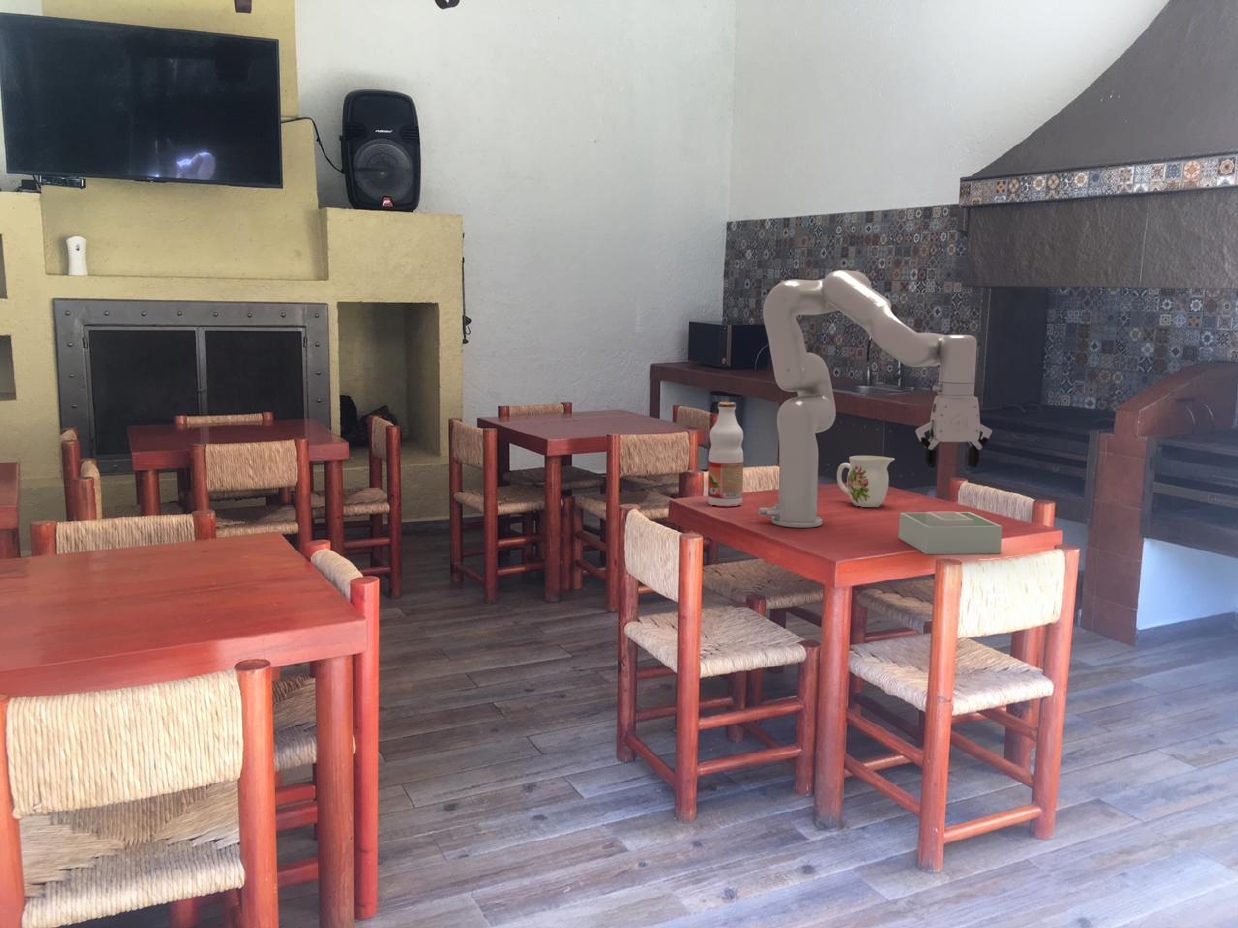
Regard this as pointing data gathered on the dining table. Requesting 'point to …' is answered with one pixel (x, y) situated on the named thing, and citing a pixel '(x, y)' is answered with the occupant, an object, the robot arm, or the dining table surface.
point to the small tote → (947, 519)
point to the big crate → (950, 535)
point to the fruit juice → (725, 458)
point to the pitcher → (866, 479)
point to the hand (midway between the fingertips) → (951, 466)
